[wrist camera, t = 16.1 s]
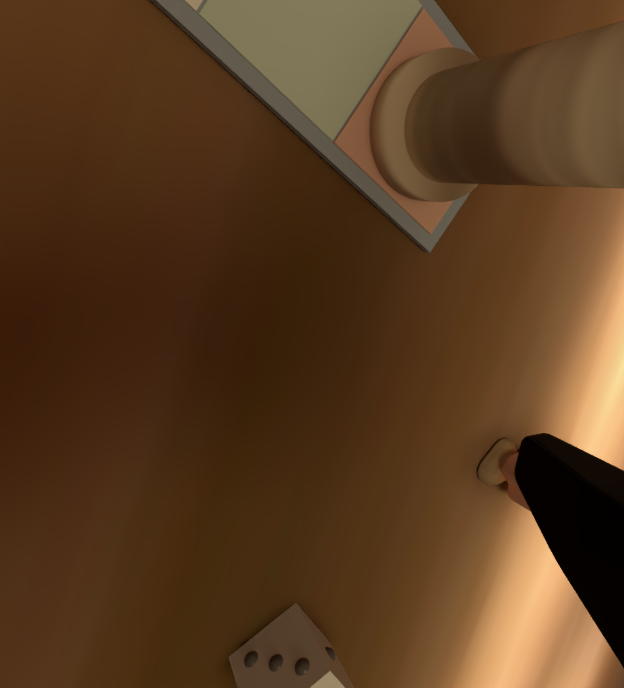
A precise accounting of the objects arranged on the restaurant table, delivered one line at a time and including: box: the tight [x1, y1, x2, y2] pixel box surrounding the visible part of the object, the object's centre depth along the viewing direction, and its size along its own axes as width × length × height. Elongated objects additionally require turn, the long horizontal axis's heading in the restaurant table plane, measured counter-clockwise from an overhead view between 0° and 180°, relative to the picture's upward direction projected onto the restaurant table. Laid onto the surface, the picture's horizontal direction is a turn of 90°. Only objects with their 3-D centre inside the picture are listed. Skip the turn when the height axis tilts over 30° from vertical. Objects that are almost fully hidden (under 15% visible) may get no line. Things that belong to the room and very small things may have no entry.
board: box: [150, 0, 474, 252], centre depth 17 cm, size 18×7×1 cm, turn 52°
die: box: [228, 603, 353, 688], centre depth 24 cm, size 4×4×4 cm
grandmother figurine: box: [478, 438, 531, 511], centre depth 23 cm, size 8×4×13 cm, turn 80°
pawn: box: [370, 21, 624, 202], centre depth 14 cm, size 5×5×13 cm
